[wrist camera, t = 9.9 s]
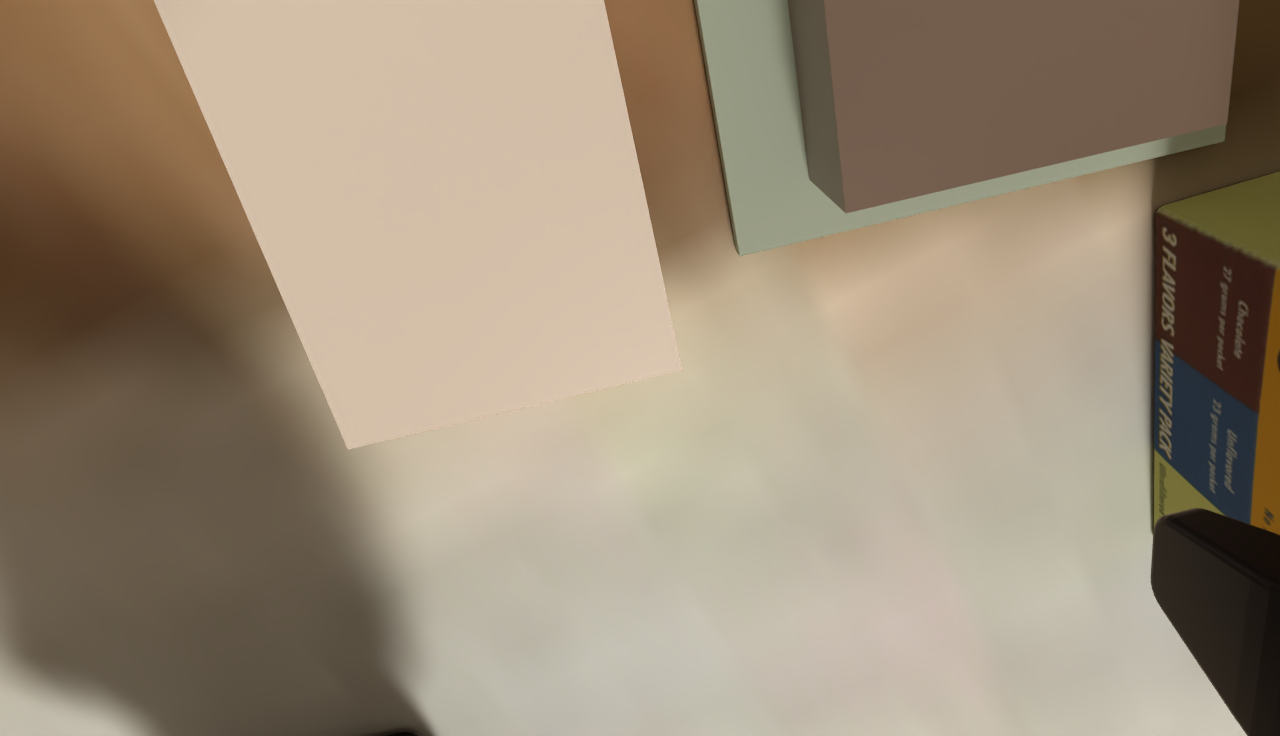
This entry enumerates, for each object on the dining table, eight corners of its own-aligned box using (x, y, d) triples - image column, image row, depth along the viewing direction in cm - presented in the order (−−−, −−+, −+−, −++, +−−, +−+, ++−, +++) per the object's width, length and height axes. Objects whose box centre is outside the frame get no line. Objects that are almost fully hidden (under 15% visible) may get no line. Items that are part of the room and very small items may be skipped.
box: (390, 332, 20) (348, 449, 15) (143, -319, 14) (-31, -427, 10) (649, 271, 20) (682, 370, 15) (501, -404, 14) (487, -550, 10)
